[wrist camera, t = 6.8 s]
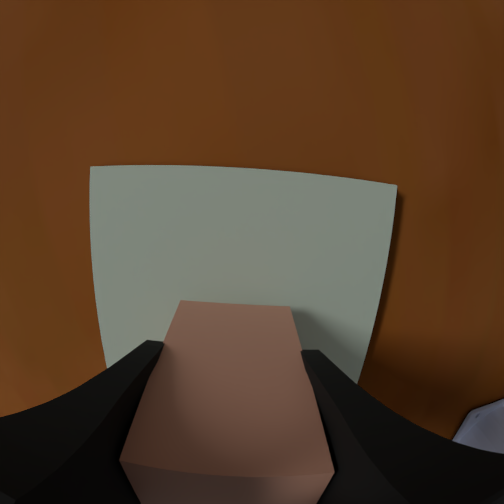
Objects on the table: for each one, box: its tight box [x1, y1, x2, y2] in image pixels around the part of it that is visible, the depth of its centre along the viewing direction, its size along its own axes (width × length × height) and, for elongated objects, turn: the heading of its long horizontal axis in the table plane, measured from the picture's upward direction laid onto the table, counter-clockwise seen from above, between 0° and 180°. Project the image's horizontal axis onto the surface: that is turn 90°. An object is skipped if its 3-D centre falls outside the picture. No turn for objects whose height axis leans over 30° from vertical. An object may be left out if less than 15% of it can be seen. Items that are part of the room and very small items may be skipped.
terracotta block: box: [119, 300, 334, 504], centre depth 8 cm, size 4×4×7 cm
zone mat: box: [90, 165, 397, 384], centre depth 12 cm, size 12×12×1 cm
